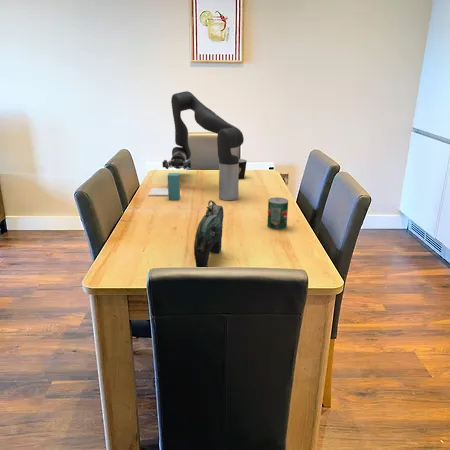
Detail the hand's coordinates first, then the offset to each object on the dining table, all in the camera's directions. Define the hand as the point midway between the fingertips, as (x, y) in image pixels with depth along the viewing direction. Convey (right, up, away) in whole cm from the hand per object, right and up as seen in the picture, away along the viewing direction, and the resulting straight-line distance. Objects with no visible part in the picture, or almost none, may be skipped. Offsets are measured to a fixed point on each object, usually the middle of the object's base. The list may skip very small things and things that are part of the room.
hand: (175, 167), depth 221 cm
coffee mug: (+31, -2, +32) cm, 45 cm away
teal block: (0, -16, -7) cm, 18 cm away
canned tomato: (+45, -29, -42) cm, 68 cm away
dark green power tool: (+19, -40, -72) cm, 85 cm away
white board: (-7, -13, +2) cm, 14 cm away
